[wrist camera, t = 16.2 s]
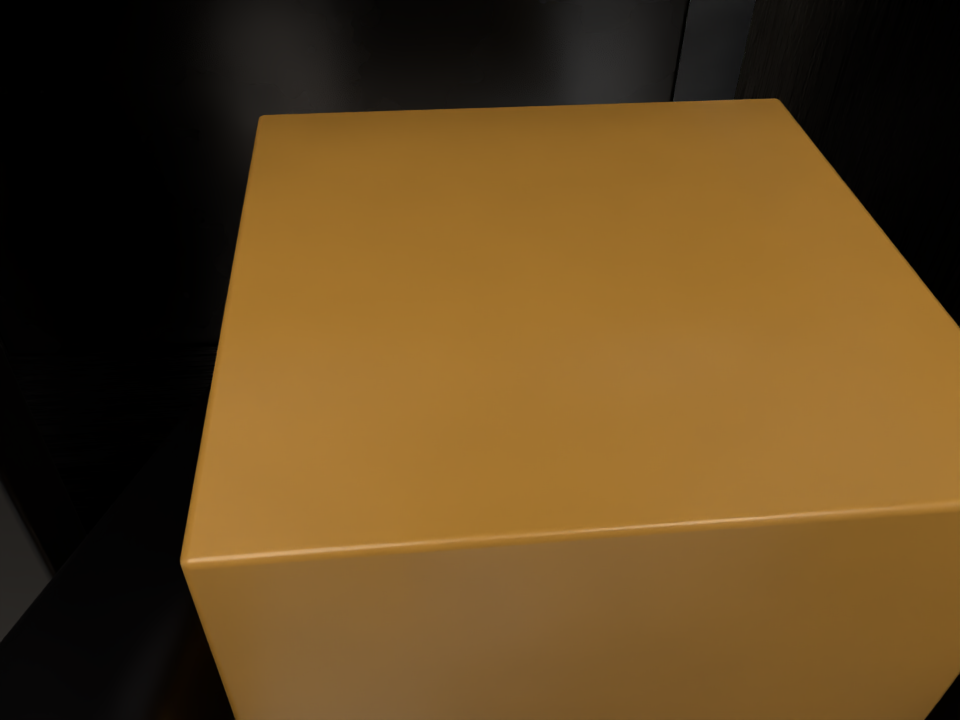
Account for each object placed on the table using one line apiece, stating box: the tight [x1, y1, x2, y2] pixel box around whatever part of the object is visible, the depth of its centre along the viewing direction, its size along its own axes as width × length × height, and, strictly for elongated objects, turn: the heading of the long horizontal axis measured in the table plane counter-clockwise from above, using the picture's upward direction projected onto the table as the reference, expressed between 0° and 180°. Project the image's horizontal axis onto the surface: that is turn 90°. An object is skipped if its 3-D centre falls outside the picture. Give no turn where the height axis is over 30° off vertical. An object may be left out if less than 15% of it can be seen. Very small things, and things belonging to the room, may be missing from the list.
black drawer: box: [0, 0, 960, 535], centre depth 11 cm, size 18×11×7 cm, turn 89°
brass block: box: [180, 98, 960, 720], centre depth 7 cm, size 4×4×4 cm
